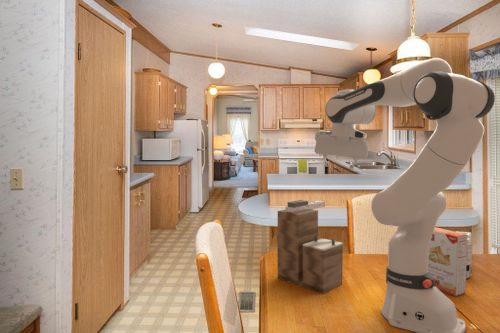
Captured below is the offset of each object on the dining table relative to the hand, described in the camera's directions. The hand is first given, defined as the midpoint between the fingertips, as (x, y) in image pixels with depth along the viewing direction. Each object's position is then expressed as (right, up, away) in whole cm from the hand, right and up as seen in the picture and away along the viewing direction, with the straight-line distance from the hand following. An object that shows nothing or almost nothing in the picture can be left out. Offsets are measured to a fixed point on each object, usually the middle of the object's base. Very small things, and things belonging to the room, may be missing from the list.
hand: (339, 167), depth 146 cm
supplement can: (+46, -42, 0) cm, 63 cm away
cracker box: (+34, -43, -13) cm, 56 cm away
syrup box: (+54, -42, +9) cm, 69 cm away
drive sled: (-13, -16, 0) cm, 21 cm away
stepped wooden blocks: (-13, -43, -6) cm, 45 cm away
